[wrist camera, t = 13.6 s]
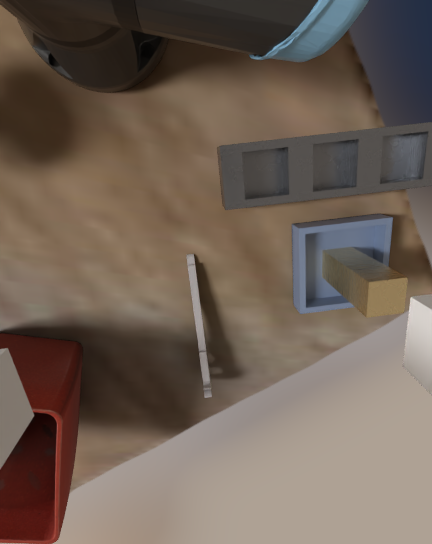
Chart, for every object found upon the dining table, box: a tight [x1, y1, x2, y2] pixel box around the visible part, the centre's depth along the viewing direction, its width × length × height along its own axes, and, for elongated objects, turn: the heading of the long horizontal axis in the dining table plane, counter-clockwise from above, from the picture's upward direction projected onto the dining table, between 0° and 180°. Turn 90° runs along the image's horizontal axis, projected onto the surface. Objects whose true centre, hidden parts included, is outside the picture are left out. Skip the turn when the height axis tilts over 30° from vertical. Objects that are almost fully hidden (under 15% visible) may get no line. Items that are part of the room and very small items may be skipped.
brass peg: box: [322, 247, 408, 317], centre depth 37 cm, size 4×4×12 cm
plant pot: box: [0, 333, 83, 544], centre depth 39 cm, size 19×19×17 cm
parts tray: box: [292, 214, 393, 314], centre depth 42 cm, size 12×12×3 cm
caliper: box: [187, 254, 212, 398], centre depth 43 cm, size 20×1×6 cm, turn 6°
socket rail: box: [217, 122, 432, 210], centre depth 37 cm, size 26×7×4 cm, turn 96°
